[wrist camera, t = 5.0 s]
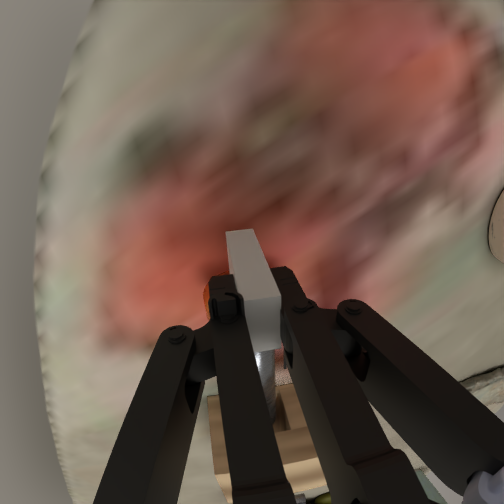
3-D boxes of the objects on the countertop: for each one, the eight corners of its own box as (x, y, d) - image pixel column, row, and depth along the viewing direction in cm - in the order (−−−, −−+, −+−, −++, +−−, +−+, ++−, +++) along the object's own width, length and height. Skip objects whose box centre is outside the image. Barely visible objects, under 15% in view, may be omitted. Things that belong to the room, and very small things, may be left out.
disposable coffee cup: (380, 487, 52) (401, 537, 38) (418, 462, 49) (444, 514, 36) (400, 485, 56) (420, 529, 43) (435, 462, 53) (459, 507, 40)
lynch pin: (202, 273, 20) (204, 324, 16) (281, 262, 21) (305, 309, 16) (225, 398, 26) (232, 446, 22) (282, 389, 27) (296, 435, 22)
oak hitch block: (207, 396, 26) (214, 474, 19) (339, 372, 27) (371, 441, 20) (219, 438, 30) (228, 503, 23) (329, 418, 31) (353, 476, 24)
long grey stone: (444, 367, 34) (410, 411, 39) (461, 396, 30) (423, 438, 34) (548, 343, 40) (523, 378, 45) (561, 360, 35) (534, 395, 40)
